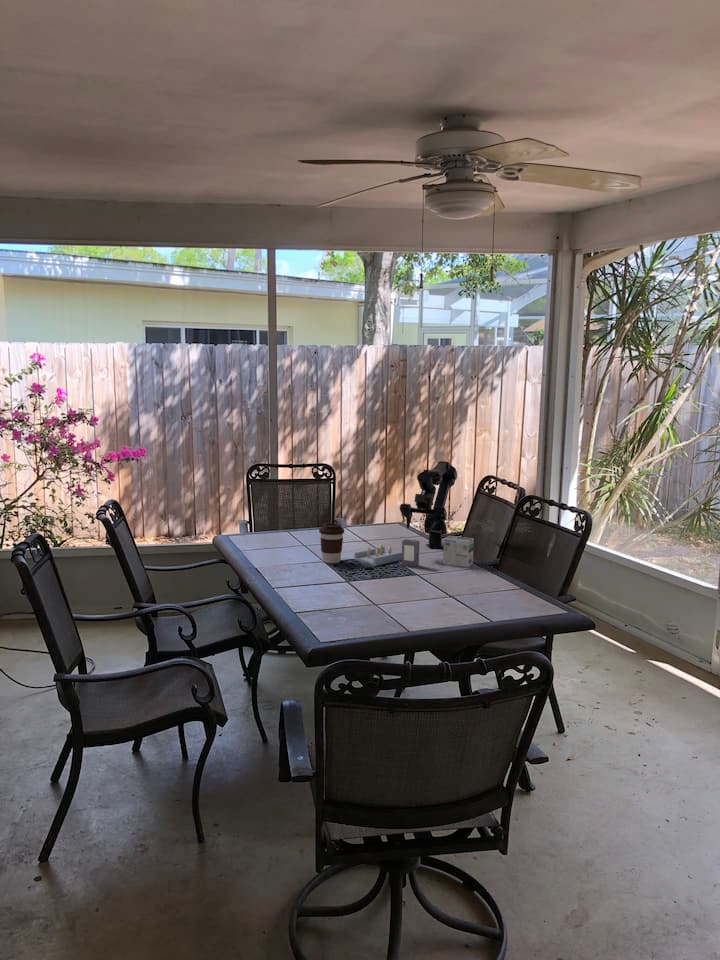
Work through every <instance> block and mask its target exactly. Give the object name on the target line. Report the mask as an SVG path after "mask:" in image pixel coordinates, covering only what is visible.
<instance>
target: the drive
mask: <svg viewBox="0 0 720 960" xmlns="http://www.w3.org/2000/svg"><path fill="white" fill-rule="evenodd" d="M401 552H402V560H401V564H400V565H401V566H402V567H409V568H415V569H416V568H417V567H419V566H420V564H419V563H420V540H416V539H407V538H405V539H403V540H401Z"/></svg>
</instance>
